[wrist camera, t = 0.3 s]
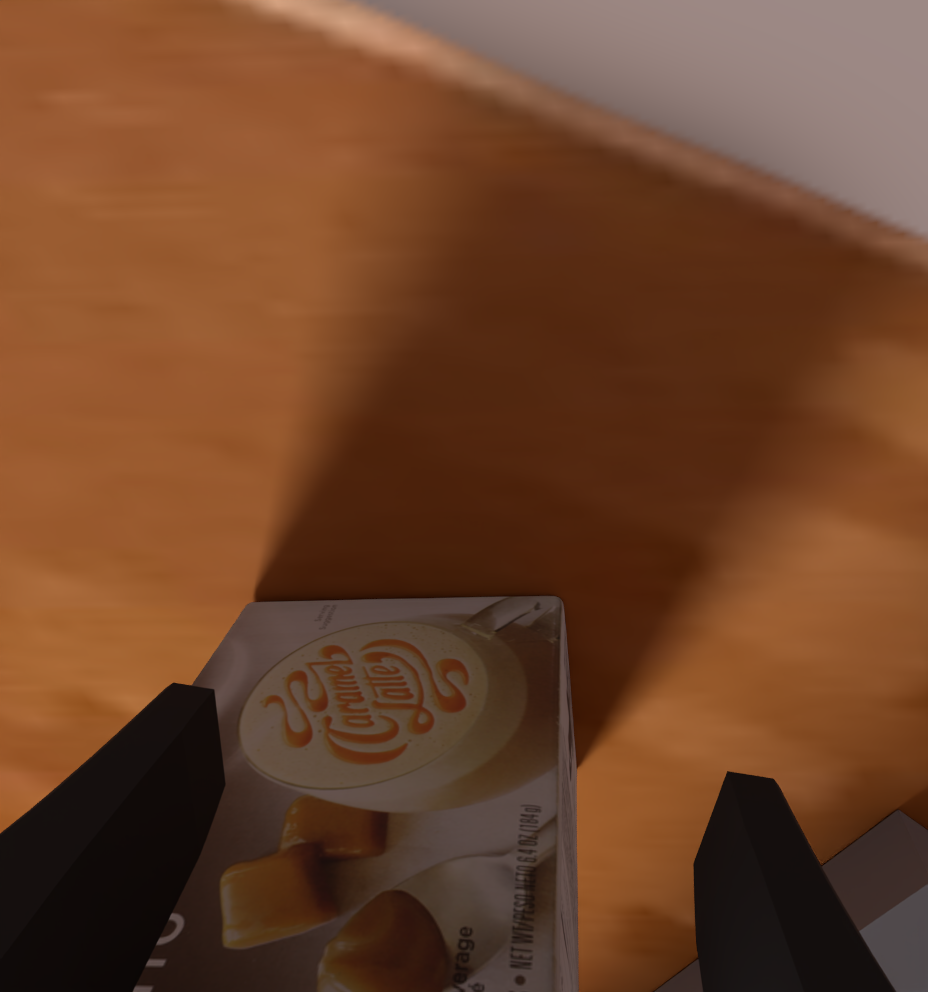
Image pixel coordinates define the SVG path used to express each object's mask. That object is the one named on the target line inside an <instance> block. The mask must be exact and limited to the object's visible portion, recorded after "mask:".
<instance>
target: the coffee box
mask: <svg viewBox="0 0 928 992" xmlns="http://www.w3.org/2000/svg"><path fill="white" fill-rule="evenodd" d="M192 686H197V687H203V688H210V689H214V690H215V698H216V707H217V715H218V723H219V732H220V740H221V749H222V757H223V766H224V774H225V783H226V785H225V788H224V791H223V794H222V797H221V799H220V802H219V805H218V808H217V811H216V814H215V817H214V819H213V822H212V825H211V828H210V830H209V833H208V836H207V838H206V841H205V844H204V846H203V849H202V852H201V854H200V856H199V859H198V861H197V863H196V865H195V867H194V869H193V871H192V873H191V875H190V877H189V879H188V881H187V883H186V885H185V887H184V889H183V892H182V894H181V896H180V898H179V900H178V902H177V904H176V906H175V908H174V910H173V912H172V914H171V916H170V918H169V920H168V922H167V924H166V926H165V928H164V930H163V932H162V934H161V936H160V938H159V940H158V942H157V944H156V946H155V948H154V950H153V952H152V954H151V956H150V958H149V960H148V962H147V964H146V966H145V968H144V970H143V972H142V974H141V976H140V978H139V980H138V982H137V984H136V986H135V988H134V990H133V992H579V984H578V884H577V766H576V751H575V740H574V728H573V714H572V700H571V685H570V672H569V660H568V648H567V635H566V624H565V613H564V605H563V602H562V600H561V599H560V598H559V597H556V596H517V597H459V598H411V599H362V600H323V601H278V602H251V603H249V604H248V605H246V607H245V608H244V610H243V611H242V612H241V614H240V616H239V617H238V619H237V620H236V622H235V623H234V624H233V626H232V627H231V629H230V630H229V632H228V633H227V635H226V636H225V638H224V639H223V641H222V642H221V644H220V645H219V647H218V648H217V649H216V651H215V652H214V653H213V655H212V657H211V658H210V660H209V661H208V663H207V664H206V665H205V667H204V668H203V670H202V671H201V673H200V674H199V676H198V677H197V678H196V680H195V681H194V683H193V684H192Z"/></svg>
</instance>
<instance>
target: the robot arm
mask: <svg viewBox="0 0 928 992" xmlns="http://www.w3.org/2000/svg"><path fill="white" fill-rule="evenodd" d="M225 785H226V783H225V774H224V766H223V757H222V749H221V740H220V732H219V723H218V715H217V707H216V698H215V690H214V689H210V688H203V687H197V686H191V685H185V684H178V683H172V684H171V685H169V686H168V687H166V688H165V689H164V690H163V691H162V692H161V693H160V694H159V695H158V696H157V697H156V698H155V699H154V700H152V701H151V702H150V703H149V704H148V705H147V706H146V707H145V708H144V709H143V710H142V711H141V712H140V713H139V714H137V715H136V716H135V717H134V718H133V719H132V720H131V721H130V722H129V723H128V724H127V725H126V726H125V727H123V728H122V729H121V730H120V731H119V732H118V733H117V734H116V735H115V736H114V737H113V738H111V739H110V740H109V741H108V742H107V743H106V744H105V745H104V746H103V747H102V748H100V749H99V750H98V751H97V752H96V753H95V754H94V755H93V756H92V757H91V758H89V759H88V760H87V761H86V762H85V763H84V764H83V765H81V766H80V767H79V768H78V769H77V770H76V771H75V772H73V773H72V774H71V775H70V776H69V777H68V778H66V779H65V780H64V781H63V782H62V783H61V784H60V785H58V786H57V787H56V788H55V789H54V790H53V791H52V792H50V793H49V794H48V795H47V796H46V797H45V798H43V799H42V800H41V801H40V802H39V803H37V804H36V805H35V806H34V807H33V808H31V809H30V810H29V811H28V812H27V813H25V814H24V815H23V816H22V817H20V818H19V819H18V820H17V821H15V822H14V823H13V824H12V825H10V826H9V827H8V828H7V829H5V830H4V831H3V832H2V833H0V992H133V990H134V988H135V986H136V984H137V982H138V980H139V978H140V976H141V974H142V972H143V970H144V968H145V966H146V964H147V962H148V960H149V958H150V956H151V954H152V952H153V950H154V948H155V946H156V944H157V942H158V940H159V938H160V936H161V934H162V932H163V930H164V928H165V926H166V924H167V922H168V920H169V918H170V916H171V914H172V912H173V910H174V908H175V906H176V904H177V902H178V900H179V898H180V896H181V894H182V892H183V889H184V887H185V885H186V883H187V881H188V879H189V877H190V875H191V873H192V871H193V869H194V867H195V865H196V863H197V861H198V859H199V856H200V854H201V852H202V849H203V846H204V844H205V841H206V838H207V836H208V833H209V830H210V828H211V825H212V822H213V819H214V817H215V814H216V811H217V808H218V805H219V802H220V799H221V797H222V794H223V791H224V788H225ZM694 901H695V926H696V944H697V952H698V959H699V966H700V974H701V981H702V988H703V992H896V990H895V989H894V987H893V986H892V984H891V983H890V981H889V979H888V978H887V976H886V975H885V973H884V971H883V970H882V968H881V967H880V965H879V964H878V962H877V960H876V959H875V957H874V956H873V954H872V952H871V951H870V949H869V947H868V946H867V944H866V942H865V940H864V939H863V937H862V935H861V934H860V932H859V930H858V929H857V927H856V925H855V924H854V922H853V920H852V919H851V917H850V915H849V914H848V912H847V910H846V909H845V907H844V905H843V904H842V902H841V900H840V898H839V897H838V895H837V893H836V891H835V890H834V888H833V886H832V884H831V883H830V881H829V879H828V877H827V875H826V874H825V872H824V870H823V868H822V866H821V865H820V863H819V861H818V859H817V857H816V856H815V854H814V852H813V850H812V848H811V846H810V844H809V843H808V841H807V839H806V837H805V835H804V833H803V831H802V829H801V828H800V826H799V824H798V822H797V820H796V818H795V816H794V814H793V812H792V810H791V808H790V806H789V805H788V803H787V801H786V799H785V797H784V795H783V793H782V791H781V789H780V787H779V785H778V784H777V783H776V781H775V780H774V779H772V778H766V777H759V776H753V775H747V774H741V773H734V772H728V771H727V774H726V777H725V779H724V782H723V785H722V788H721V790H720V793H719V796H718V798H717V801H716V804H715V807H714V809H713V812H712V815H711V817H710V820H709V823H708V826H707V828H706V831H705V834H704V836H703V839H702V842H701V845H700V847H699V850H698V853H697V855H696V858H695V861H694Z"/></svg>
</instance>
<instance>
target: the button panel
mask: <svg viewBox="0 0 928 992" xmlns="http://www.w3.org/2000/svg"><path fill="white" fill-rule="evenodd" d="M822 868H823V870H824V872H825V874H826V875H827V877H828V879H829V881H830V883H831V884H832V886H833V888H834V890H835V891H836V893H837V895H838V897H839V898H840V900H841V902H842V904H843V905H844V907H845V909H846V910H847V912H848V914H849V915H850V917H851V919H852V920H853V922H854V924H855V925H856V927H857V929H858V930H859V932H860V934H861V935H862V937H863V939H864V940H865V942H866V944H867V946H868V947H869V949H870V951H871V952H872V954H873V956H874V957H875V959H876V960H877V962H878V964H879V965H880V967H881V968H882V970H883V971H884V973H885V975H886V976H887V978H888V979H889V981H890V983H891V984H892V986H893V987H894V989H895V990H896V992H928V830H927V829H925V828H924V827H922V826H921V825H920V824H918V823H917V822H915V821H914V820H912V819H911V818H910V817H908V816H907V815H905V814H904V813H903V812H901V811H900V810H897V811H895V812H894V813H893V814H891V815H890V816H889V817H887V818H886V819H885V820H883V821H882V822H881V823H879V824H878V825H877V826H875V827H874V828H873V829H871V830H870V831H869V832H867V833H866V834H865V835H863V836H862V837H861V838H859V839H858V840H857V841H855V842H854V843H853V844H851V845H850V846H849V847H847V848H846V849H845V850H843V851H842V852H840V853H839V854H838V855H836V856H835V857H834V858H832V859H831V860H830V861H828V862H827V863H826V864H824V865H823V866H822ZM654 992H703V988H702V981H701V974H700V966H699V959H697V960H696V961H695V962H693V963H692V964H691V965H689V966H688V967H687V968H685V969H684V970H682V971H681V972H680V973H678V974H677V975H676V976H674V977H673V978H672V979H670V980H669V981H668V982H666V983H665V984H664V985H662V986H661V987H660V988H658V989H657V990H656V991H654Z"/></svg>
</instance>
